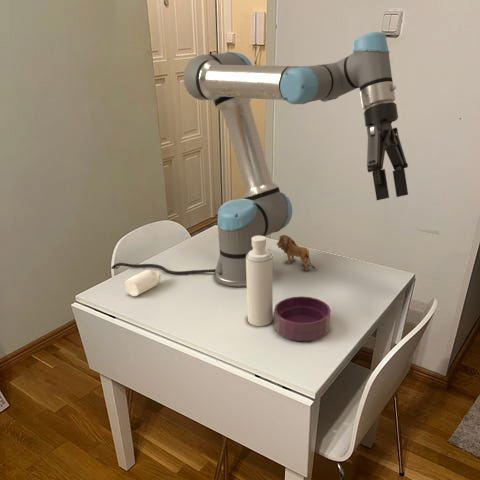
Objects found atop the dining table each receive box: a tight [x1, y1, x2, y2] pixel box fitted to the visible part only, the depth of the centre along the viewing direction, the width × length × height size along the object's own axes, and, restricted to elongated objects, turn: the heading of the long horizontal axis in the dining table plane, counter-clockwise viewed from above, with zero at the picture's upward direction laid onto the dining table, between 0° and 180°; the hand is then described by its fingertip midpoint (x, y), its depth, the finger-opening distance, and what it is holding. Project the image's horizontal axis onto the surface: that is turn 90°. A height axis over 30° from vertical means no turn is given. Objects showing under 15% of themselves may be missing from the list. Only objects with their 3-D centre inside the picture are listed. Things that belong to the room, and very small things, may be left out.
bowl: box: [273, 295, 332, 342], centre depth 126 cm, size 14×14×6 cm
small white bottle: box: [124, 269, 162, 297], centre depth 149 cm, size 6×12×6 cm, turn 141°
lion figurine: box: [276, 234, 316, 271], centre depth 159 cm, size 15×5×9 cm, turn 50°
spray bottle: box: [246, 236, 274, 327], centre depth 126 cm, size 7×7×25 cm
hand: (393, 197), depth 118 cm, fingers open, 13 cm apart
